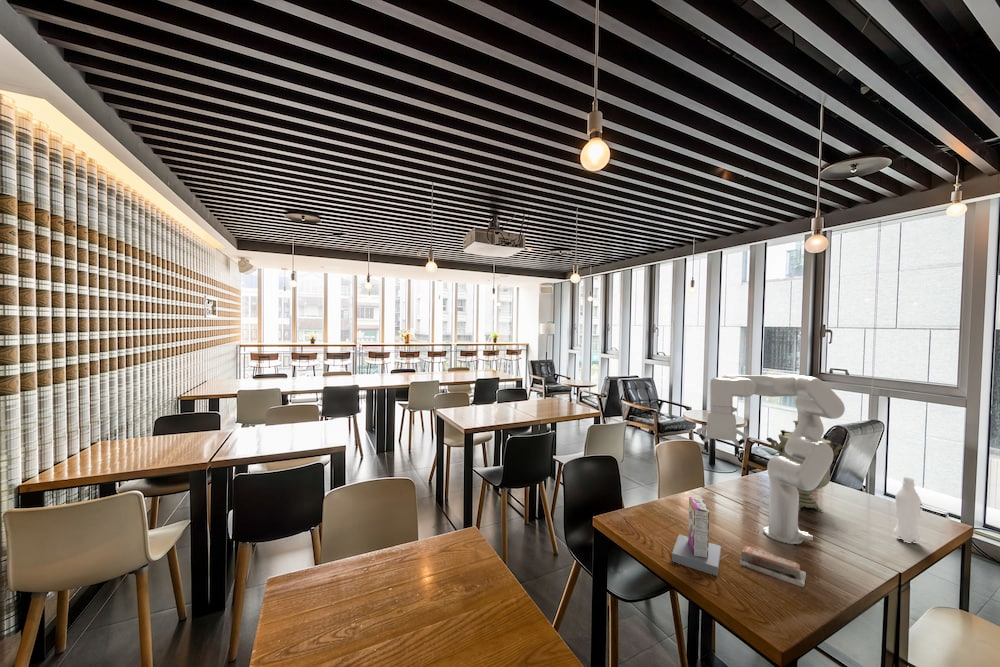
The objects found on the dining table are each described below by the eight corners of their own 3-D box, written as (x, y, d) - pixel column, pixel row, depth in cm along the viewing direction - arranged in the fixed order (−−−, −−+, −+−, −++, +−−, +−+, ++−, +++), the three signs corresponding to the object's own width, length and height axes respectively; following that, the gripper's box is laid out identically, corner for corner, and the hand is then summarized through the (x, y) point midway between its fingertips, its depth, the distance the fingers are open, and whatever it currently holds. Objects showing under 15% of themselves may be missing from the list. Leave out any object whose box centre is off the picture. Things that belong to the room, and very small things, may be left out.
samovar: (766, 509, 182) (768, 423, 182) (763, 491, 204) (765, 414, 204) (850, 528, 166) (853, 434, 166) (837, 506, 188) (840, 423, 188)
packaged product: (739, 552, 136) (744, 541, 143) (738, 566, 136) (744, 554, 143) (804, 574, 124) (806, 561, 132) (804, 589, 124) (806, 575, 132)
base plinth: (720, 554, 142) (720, 545, 142) (717, 576, 129) (717, 567, 129) (678, 542, 150) (679, 534, 150) (671, 561, 136) (672, 553, 136)
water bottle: (918, 541, 157) (920, 478, 157) (920, 547, 152) (922, 483, 152) (893, 534, 162) (895, 474, 162) (894, 540, 156) (896, 478, 157)
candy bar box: (687, 540, 145) (688, 496, 145) (701, 542, 144) (703, 498, 144) (692, 556, 134) (694, 508, 135) (708, 559, 133) (710, 511, 133)
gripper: (747, 410, 150) (747, 454, 150) (697, 406, 159) (697, 447, 159) (747, 413, 144) (747, 460, 144) (695, 409, 153) (695, 452, 153)
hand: (721, 453), depth 152 cm, fingers open, 9 cm apart
